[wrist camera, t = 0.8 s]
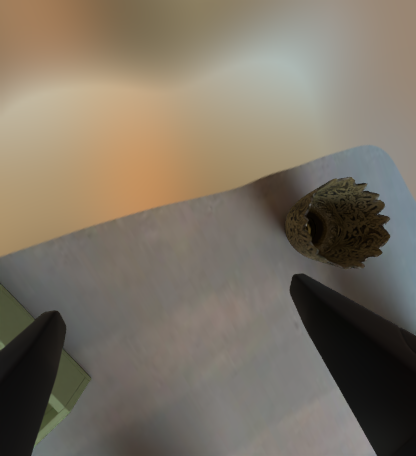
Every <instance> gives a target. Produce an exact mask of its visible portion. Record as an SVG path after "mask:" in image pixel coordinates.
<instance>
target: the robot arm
mask: <svg viewBox="0 0 416 456" xmlns="http://www.w3.org/2000/svg"><path fill="white" fill-rule="evenodd" d="M290 295H291V297H292V299H293V302H294V304H295V306H296V308H297V311H298V313H299V315H300V317H301V320H302V322H303V324H304V326H305V328H306V330H307V332H308V334H309V336H310V338H311V339H312V341H313V343H314V345H315V346H316V348H317V350H318V352H319V354H320V355H321V357H322V359H323V361H324V362H325V364H326V366H327V368H328V369H329V371H330V373H331V375H332V377H333V378H334V380H335V382H336V384H337V385H338V387H339V389H340V391H341V393H342V394H343V396H344V398H345V400H346V401H347V403H348V405H349V407H350V408H351V410H352V412H353V414H354V416H355V417H356V419H357V421H358V423H359V424H360V426H361V428H362V430H363V431H364V433H365V435H366V437H367V439H368V440H369V442H370V444H371V446H372V447H373V449H374V451H375V453H376V454H377V456H416V336H415V335H413V334H411V333H410V332H408V331H406V330H404V329H402V328H399V327H398V326H397V325H395V324H393V323H392V322H390V321H388V320H386V319H384V318H383V317H381V316H379V315H377V314H375V313H374V312H372V311H370V310H368V309H366V308H365V307H363V306H361V305H359V304H357V303H356V302H354V301H352V300H350V299H348V298H347V297H345V296H343V295H341V294H339V293H338V292H336V291H334V290H332V289H330V288H329V287H327V286H325V285H323V284H321V283H320V282H318V281H316V280H314V279H312V278H311V277H309V276H307V275H305V274H295V275H293V277H292V281H291V285H290ZM65 334H66V325H65V323H64V321H63V319H62V317H61V315H60V313H59V312H58V311H49V312H44V313H43V314H41V315H40V316H39V317H38V318H37V319H36V320H34V321H33V322H32V323H31V324H30V325H29V326H28V327H26V328H25V329H24V330H23V331H22V332H21V333H20V334H18V335H17V336H16V337H15V338H14V339H13V340H12V341H10V342H9V343H8V344H7V345H6V346H5V347H4V348H2V349H1V350H0V456H31V455H32V451H33V448H34V445H35V442H36V439H37V436H38V433H39V430H40V427H41V424H42V420H43V417H44V414H45V411H46V408H47V405H48V402H49V399H50V396H51V392H52V389H53V386H54V383H55V380H56V376H57V372H58V368H59V363H60V358H61V353H62V349H63V344H64V339H65Z"/></svg>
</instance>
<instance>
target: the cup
mask: <svg viewBox="0 0 416 456" xmlns="http://www.w3.org/2000/svg"><path fill="white" fill-rule="evenodd" d="M366 186H367V184H366V183H362V184H356V183H355V180H354V179H353V178H352V177H347V178H342V179H333V180H331V181H329V182H327V183H326V184H324V185H322V186H320V187H319V188H317V189H315V190H314V191H312V192H311V193H309V194H307V195H306V196H304V197H303V198H301V199H300V200H299V201H298V202H297V203H295V205H294V206H293V207H292V208H291V209H290V211H289V213H288V215H287V218H286V223H285V231H286V235H287V238H288V240H289V242H290V244H291V245H292V246H293V247H294V248H295V249H296V250H297V251H298V252H299V253H301V254H302V255H304V256H306V257H308V258H311V259H313V260H316V261H320V262H323V263H327V264H330V265H334V266H337V267H340V268H343V269H350V268H364V267H365V266H364V264H363V263H361V262H364V261H366V259H367V258H368V257H378V256H379V255H381V254H382V251H381V250H380V249H379V248H380V247H382V246H384V245H385V244H386V243H387V241H388V240H389V238H390V234H389V233H388V232H387V231H386V230H385V229H384V227H383V224H385V223H387V222H388V221H389V220H390V218H389V217H388V216H384V215H381V216H380V214H378V215H377V213H379V212H381V211H382V210H383V209H384V207H385V204H384V202H382V201H381V200H377V199H378V197H379V194H377V193H372V192H369V191H363V190H364V189H365V188H366Z"/></svg>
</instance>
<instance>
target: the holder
mask: <svg viewBox="0 0 416 456" xmlns="http://www.w3.org/2000/svg"><path fill="white" fill-rule="evenodd" d="M34 320H35V319H34V318H33V317H32V316H31V315H30V314H29V313H28V312H27V311H26V310H25V309H24V308H23V307H22V306H21V305H20V304H19V303H18V302H17V301H16V299H15V298H14V297H13V296H12V295H11V294H10V293H9V292H8V291H7V290H6V289H5V288H4V287H3V286H2V285H1V284H0V350H1V349H2V348H4V347H5V346H6V345H7V344H8V343H9V342H10V341H12V340H13V339H14V338H15V337H16V336H17V335H18V334H20V333H21V332H22V331H23V330H24V329H25V328H26V327H28V326H29V325H30V324H31V323H32V322H33V321H34ZM90 380H91V378H90V377H89V376H88V375H87V374H86V373H85V371H84V370H83V369H82V368H81V367H80V366H79V365H78V364H77V363H76V362H75V361H74V360H73V359H72V358H71V357H70V356H69V355H68V354H67V353H66V352H65V351H64V350H63V349H62V353H61V358H60V363H59V368H58V372H57V376H56V380H55V383H54V386H53V389H52V392H51V396H50V399H49V402H48V405H47V408H46V411H45V414H44V417H43V420H42V424H41V427H40V430H39V433H38V436H37V439H36V442H35V445H34V447H35V446H36V445H37V444H38V443H39V442H40V441H41V440H42V439H43V438H44V437H45V436H46V435H47V434H48V433H49V432H50V431H51V430H52V429H54V428H55V427H56V426H57V425H58V424H59V423H60V422H61V421H62V420H63V419H64V418H65V417H66V416H67V415H68V414H69V413H70V412H71V410H72V409H73V407H74V405H75V404H76V402H77V401H78V399H79V397H80V396H81V394H82V393H83V391H84V390H85V388H86V386H87V385H88V383H89V382H90Z"/></svg>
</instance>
